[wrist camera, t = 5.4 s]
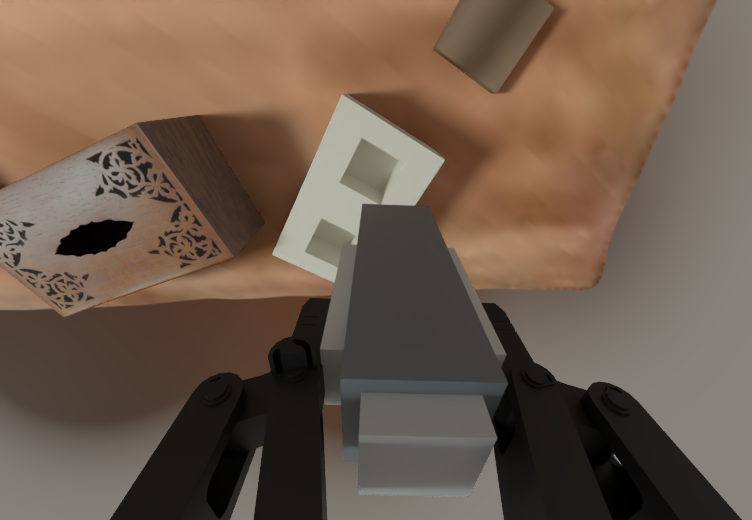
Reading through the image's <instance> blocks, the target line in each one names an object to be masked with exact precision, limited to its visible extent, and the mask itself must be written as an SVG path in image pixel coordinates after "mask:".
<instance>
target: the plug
mask: <svg viewBox="0 0 752 520" xmlns="http://www.w3.org/2000/svg"><path fill="white" fill-rule="evenodd" d="M507 385H508V382H507V379H506V377H505V375H504V373H503V370H502V368H501V366H500V364H499V362H498V359H497V357H496V355H495V353H494V350H493V348H492V346H491V344H490V342H489V339H488V337H487V335H486V333H485V331H484V328H483V326H482V324H481V322H480V319H479V317H478V315H477V313H476V311H475V308H474V306H473V304H472V302H471V299H470V297H469V295H468V293H467V291H466V288H465V286H464V284H463V282H462V279H461V277H460V275H459V273H458V271H457V268H456V266H455V264H454V262H453V259H452V257H451V255H450V253H449V251H448V248H447V246H446V244H445V242H444V239H443V237H442V235H441V233H440V231H439V228H438V226H437V224H436V222H435V220H434V217H433V215H432V213H431V211H430V208H429V206H411V205H383V204H362V210H361V218H360V226H359V234H358V241H357V249H356V257H355V265H354V273H353V281H352V288H351V296H350V304H349V312H348V320H347V328H346V335H345V343H344V351H343V359H342V367H341V375H340V391H341V412H342V433H343V454H344V455H343V456H344V461H351V462H359V466H358V494H359V495H406V496H460V497H461V496H463V497H469V495H470V493H471V491H472V489H473V487H474V485H475V483H476V481H477V479H478V477H479V474H480V473H481V470H482V469H483V467H484V464H485V462H486V460H487V458H488V456H489V454H490V452H491V450H492V448H493V446H494V444H495V442H496V440H497V436H496V433H495V430H494V427H493V424H492V418H493V416H494V414H495V412H496V409H497V407H498V405H499V403H500V400H501V398H502V396H503V394H504V391H505V389H506V387H507Z"/></svg>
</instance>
